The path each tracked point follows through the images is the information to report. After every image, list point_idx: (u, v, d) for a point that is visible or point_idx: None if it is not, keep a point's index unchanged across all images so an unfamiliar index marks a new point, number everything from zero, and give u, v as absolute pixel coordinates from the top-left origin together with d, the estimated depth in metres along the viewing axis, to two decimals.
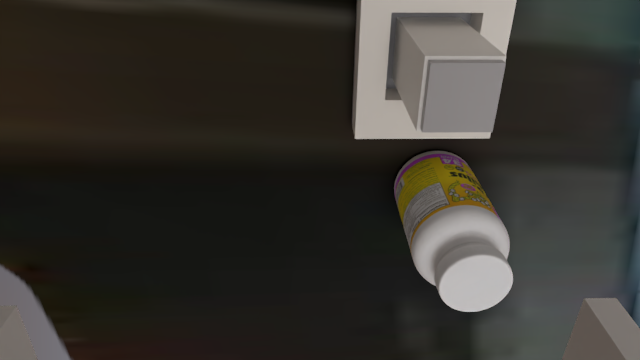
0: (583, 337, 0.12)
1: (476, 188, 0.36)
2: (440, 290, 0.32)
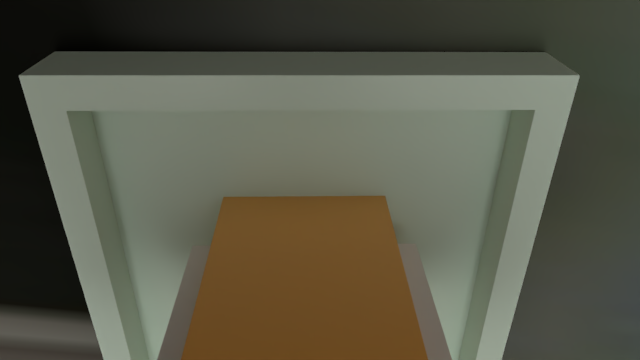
0: None
1: None
2: None
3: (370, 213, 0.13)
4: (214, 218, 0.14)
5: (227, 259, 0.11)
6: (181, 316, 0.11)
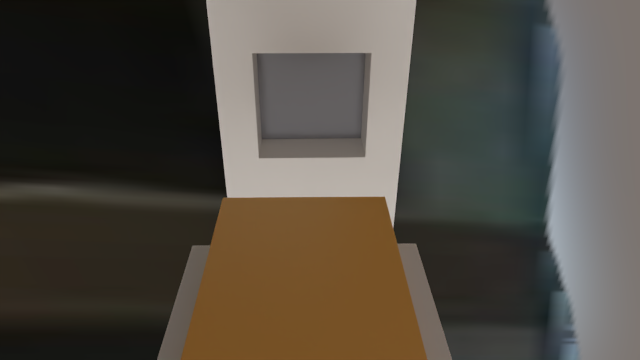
0: None
1: None
2: None
3: (370, 214, 0.13)
4: None
5: (227, 261, 0.11)
6: (181, 316, 0.11)
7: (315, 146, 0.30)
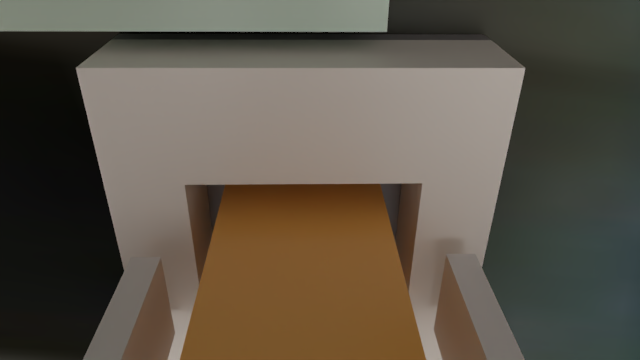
0: (446, 288, 0.13)
1: None
2: None
3: None
4: None
5: (234, 218, 0.13)
6: (106, 333, 0.11)
7: None
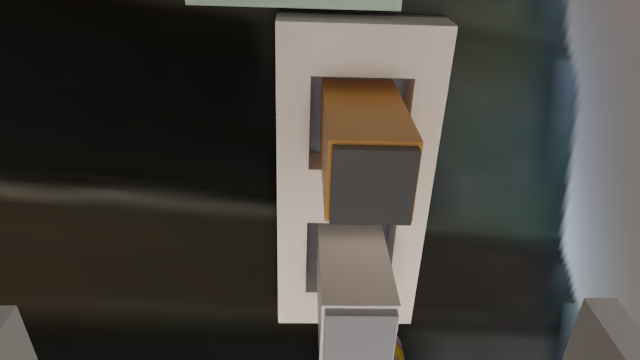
0: (583, 337, 0.12)
1: None
2: None
3: (386, 83, 0.31)
4: None
5: (331, 92, 0.29)
6: None
7: None
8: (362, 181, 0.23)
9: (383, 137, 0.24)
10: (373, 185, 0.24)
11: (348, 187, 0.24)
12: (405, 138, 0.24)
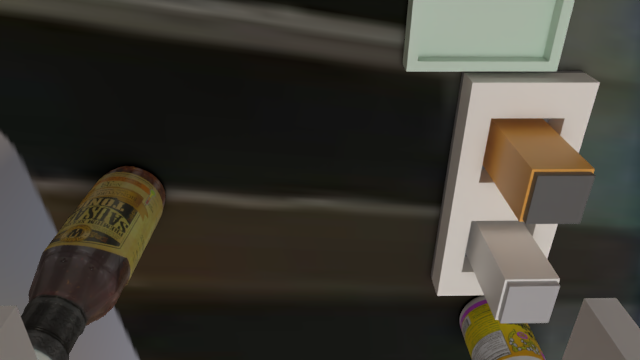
0: (583, 337, 0.12)
1: (528, 334, 0.49)
2: None
3: (538, 120, 0.43)
4: None
5: (505, 129, 0.41)
6: None
7: None
8: (553, 195, 0.35)
9: (566, 166, 0.36)
10: (559, 198, 0.36)
11: (543, 199, 0.36)
12: (581, 166, 0.35)
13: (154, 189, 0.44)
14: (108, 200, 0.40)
